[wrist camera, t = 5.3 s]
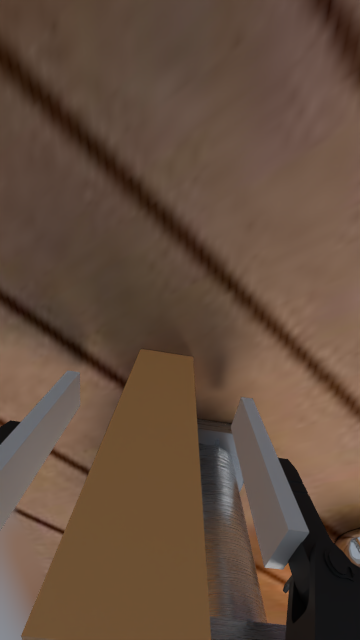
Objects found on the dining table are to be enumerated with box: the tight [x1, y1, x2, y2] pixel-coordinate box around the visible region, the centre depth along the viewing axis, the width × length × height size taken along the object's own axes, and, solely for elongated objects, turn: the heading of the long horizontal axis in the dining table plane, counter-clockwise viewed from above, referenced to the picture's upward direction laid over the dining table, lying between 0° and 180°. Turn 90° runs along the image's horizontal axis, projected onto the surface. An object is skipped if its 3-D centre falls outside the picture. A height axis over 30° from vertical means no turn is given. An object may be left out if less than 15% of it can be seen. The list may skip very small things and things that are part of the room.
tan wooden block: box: [21, 349, 211, 640], centre depth 11 cm, size 4×4×12 cm
